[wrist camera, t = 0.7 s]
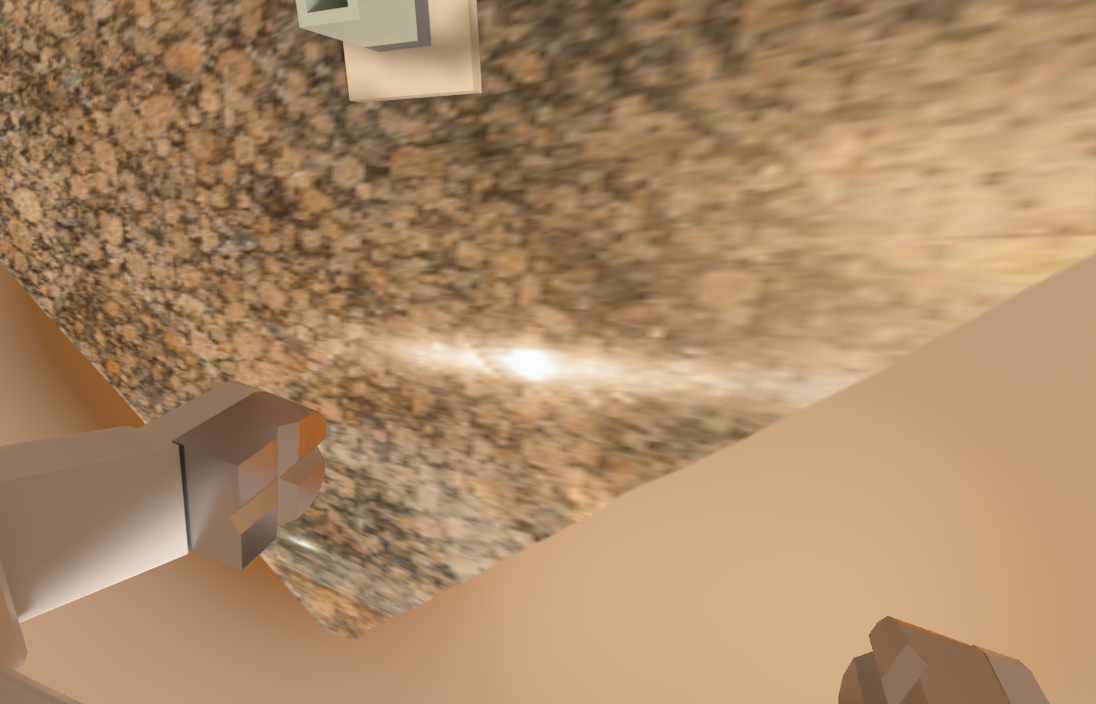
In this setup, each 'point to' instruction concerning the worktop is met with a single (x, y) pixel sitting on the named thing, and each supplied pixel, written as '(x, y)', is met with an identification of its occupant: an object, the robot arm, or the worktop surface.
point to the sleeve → (369, 22)
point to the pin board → (422, 60)
